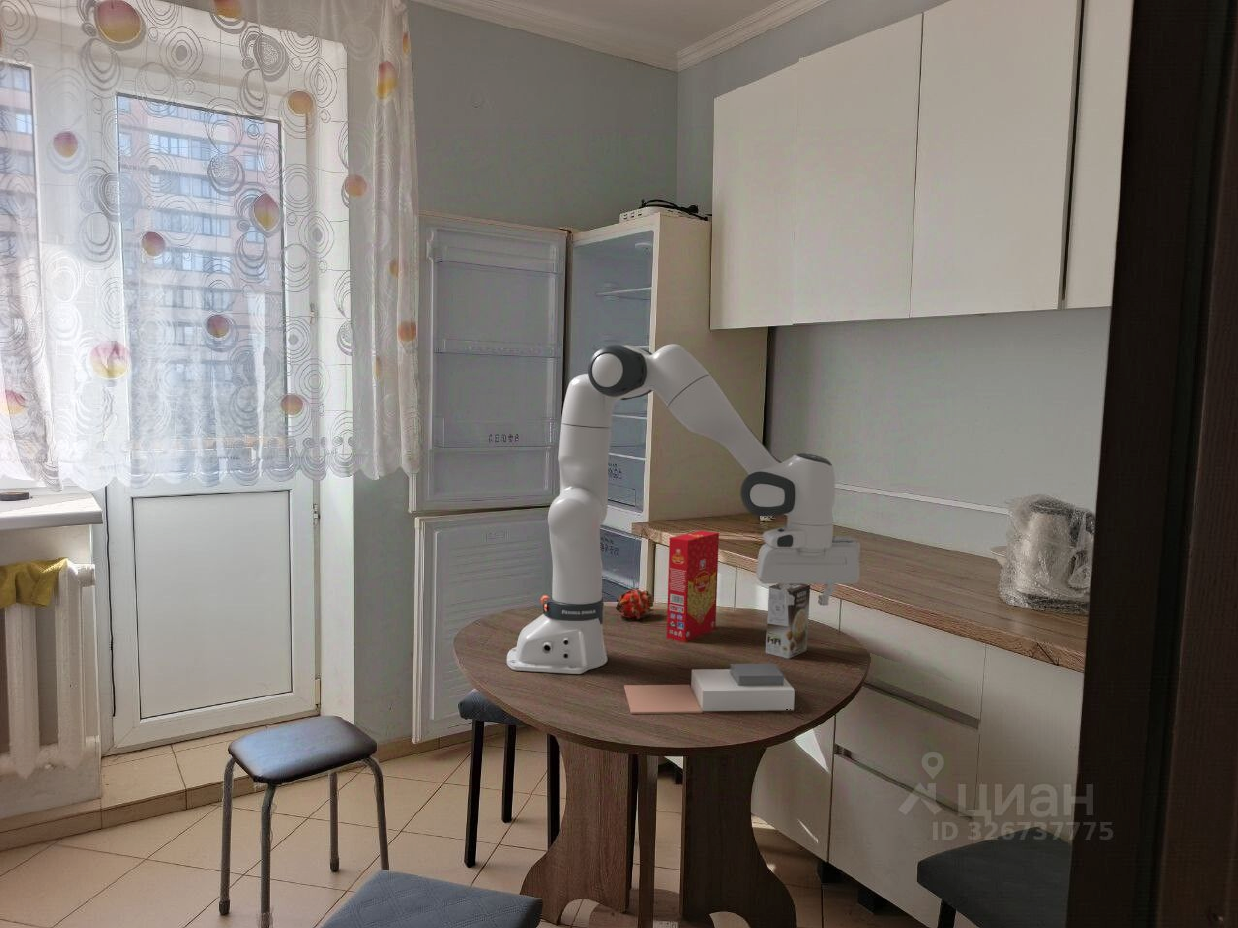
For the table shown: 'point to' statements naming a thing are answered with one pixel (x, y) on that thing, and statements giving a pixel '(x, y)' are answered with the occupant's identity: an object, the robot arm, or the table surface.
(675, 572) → the food packaging
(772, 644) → the coffee box
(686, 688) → the mat
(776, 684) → the gray flat block
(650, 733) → the table surface
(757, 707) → the block
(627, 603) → the dragon fruit
